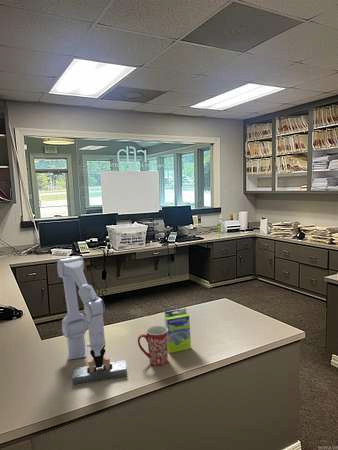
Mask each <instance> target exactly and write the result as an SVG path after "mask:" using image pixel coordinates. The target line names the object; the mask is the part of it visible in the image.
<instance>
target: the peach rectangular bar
mask: <svg viewBox="0 0 338 450" xmlns="http://www.w3.org/2000/svg"><path fill="white" fill-rule="evenodd" d="M110 359H111V358H110V355H109V356H104V357H103V365H105V368H106V370H110V362H111V360H110ZM87 361H88V363H87V364H88V366H89V371H90V373H93V372H94V366H96V365H95V361H94V359H93V358H89V359H88V360H87Z"/></svg>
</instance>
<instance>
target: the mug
mask: <svg viewBox="0 0 338 450" xmlns="http://www.w3.org/2000/svg"><path fill="white" fill-rule="evenodd" d="M145 333H146V334H145ZM145 333H144V334H139V335H138V337H137V345H138V347H139V349H140V351H142V353H143V354H144V355H145V356H146V357H147V358H148V359H149V363H150V364H151V365H152V366H155V367H156V366H157V367H158V366H159V367H160V366H163V365H165V364H167V363H168V361H169V360H168V359H169V358H168V356H169V355H168V354H169V352H168V328H166V326H164V325H154V326H153V325H152V326H150V327H148V328H146V330H145ZM141 338H144V339H145V340H146V342H147V347H148V352H147V351H146V350H145V349H144V347H142V345H141V341H140V340H141Z"/></svg>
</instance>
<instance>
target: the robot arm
mask: <svg viewBox="0 0 338 450" xmlns="http://www.w3.org/2000/svg"><path fill="white" fill-rule="evenodd" d="M56 267H57V268H56V269H57V275H58V278H62V282H63V288H64V289H63V291H64V296H65V303H66V311H67V314H66V315H65V316H64V317H63V319H62V320H61V331H62V335H63V336H64V338H67V339H66V340H67V347H68V348H67V349H68V355H67V360H68V361H70V360H76V359H82V357H83V358H86V357H87V355H88V347H90V350H89V351H90V352H89V353H90V356H91V357H92V359H94V361H95V365H96V367H97V368H100V367H102V365H103V357H105V354H106V338H105V327H104V326H105V325H104V314H105V312H106V307H105V303H104V300H103V299H102V298H101V297H100V296H98V295H97V294H96V291H95V289H94V287H93V285H91V284H88V281H87V279H86V276H85V274H84V268H85V262H84V259H83V257H82V256H80V255H77V256H72V257H66V258H62V259H61V258H60V259H58V260H57V263H56ZM76 286H77V287H78V288H79V289H78V295H79V297H80V300H81V301H82V304H83V311H84V313H81V312H80V309H79V302H78V295H77V288H76ZM87 331H88V340H89V342H87V343H86V342H85V341H86V340H85V339H86V338H85V335H86V332H87Z"/></svg>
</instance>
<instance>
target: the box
mask: <svg viewBox="0 0 338 450" xmlns="http://www.w3.org/2000/svg"><path fill="white" fill-rule="evenodd" d="M176 312H177V313H176ZM164 322H165V323H164V324H165V326H164V327H166V328H168V354H171V353H176V352H180V351H181V352H182V351H186V350H189V349H191V350H192V344H191V343H192V341H191V325H190V324H191V323H190V322H191V321H190V314H188V313H187V308H185V307H184V308H180V309H179V308H178V309H175V310H169V311H168V310H167V311H164Z"/></svg>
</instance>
